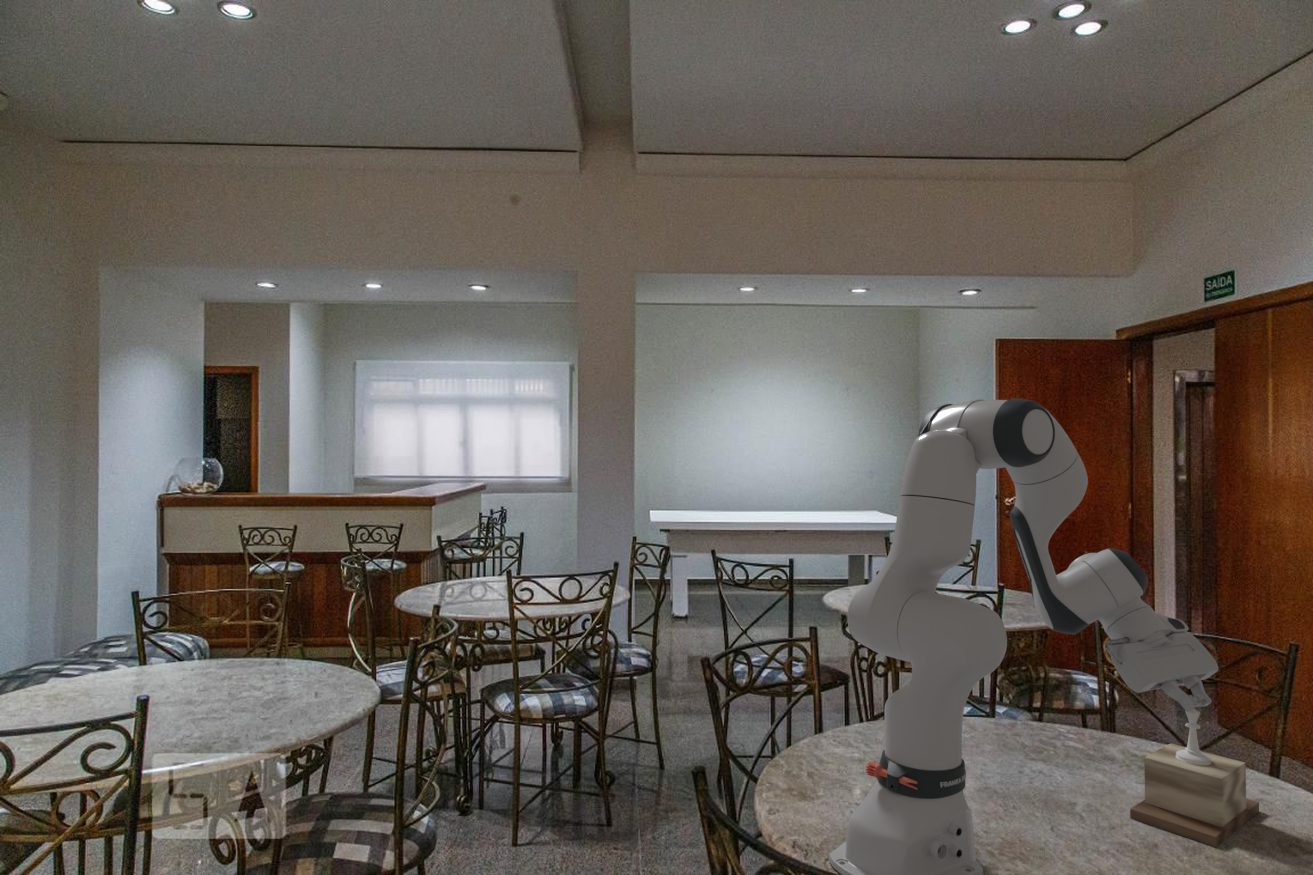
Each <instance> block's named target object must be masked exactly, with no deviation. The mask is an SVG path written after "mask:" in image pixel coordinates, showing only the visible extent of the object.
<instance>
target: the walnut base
mask: <svg viewBox="0 0 1313 875" xmlns="http://www.w3.org/2000/svg"><path fill="white" fill-rule="evenodd" d="M1186 747H1187V746H1183V745H1179V744H1176V743H1171V742H1170V743H1169V744H1167V745H1164V746H1163V747H1161V748H1159V749H1157V750H1156V751H1154V752H1152V753H1150V754H1148V755H1146V756H1145V757H1144V766H1143V768H1144V799H1143V800H1142V801H1140V802H1139V803H1137V804H1136V805H1134V806H1132V807H1130V808H1129V809H1130V810H1129V811H1130V812H1129V815H1130V816H1129V818H1130V819H1132V820H1134V821H1138V822H1141V823H1144V824H1147V825H1150V826H1153V827H1156V828H1158V829H1162V830H1165V831H1167V832H1171V833H1174V834H1176V835H1179V836H1182V837H1185V838H1188V839H1191V840H1194V841H1197V842H1199V843H1202V844H1206V845H1208V846H1211V847H1215V848H1217V847H1218V846H1219V845H1220V844H1221V843H1223V842H1224V841H1225V840H1226V839H1228V838H1229V837H1230V836H1231V835H1232V834H1234V832H1236V831H1237V830H1238V829H1240V828H1241V827H1242V826H1243V825H1244V824H1245V823H1247V822H1248V821H1249V820H1250V819H1252V818H1253V817H1254V816H1255V815H1257V814H1258V813H1259V812H1260V801H1256V800H1252V799H1249V798H1247V780H1246V779H1247V778H1246V777H1247V774H1246V773H1247V772H1246V770H1247V769H1246V762H1244V761H1241V760H1237V759H1234V758H1233V759H1232V758H1230V757H1224V756H1221V755H1219V754H1215V753H1211V752H1207V751H1202V750H1201V751H1202V752H1201V753H1204V754H1206V755H1207V756H1209V757H1210V758H1211V760H1210V761H1211V764H1210V765H1193V764H1189V763H1185V762H1183V761H1180V760H1178V759H1177V758H1176V752H1177V751H1179V750H1185V748H1186ZM1256 813H1257V814H1256Z"/></svg>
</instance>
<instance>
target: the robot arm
mask: <svg viewBox="0 0 1313 875" xmlns="http://www.w3.org/2000/svg"><path fill="white" fill-rule="evenodd" d="M1002 468H1003V469H1005V470H1006V471H1007V473H1008V475H1009V477H1010V479H1011V480H1012V482H1013V485H1014V490H1015V499H1014V506H1013V507H1012V509H1011V511H1010V513H1009V520H1010V525H1011V528H1012V533H1013V536H1014V539H1015V540H1014V541H1015V543H1016V546H1017V549H1018V552H1019V554H1020V558H1021V561H1022V564H1023V568H1024V570H1025V573H1026V575H1027V576H1026V577H1027V580H1028V583H1029V586H1030V591H1031V595H1032V599H1033V603H1034V604H1033V605H1034V608H1035V610H1036V612H1037V614H1038V616H1039V617H1040V619H1041V620H1042V621H1043V623H1044V624H1045V625H1046V626H1047V627H1048V628H1049V629H1050V630H1051V631H1053V632H1057V633H1061V634H1066V635H1074V636H1075V635H1077V634H1078V633H1080V632H1081V631H1083V630H1084V629H1086V628H1087V627H1089V626H1090V625H1091V624H1092V623H1095V622H1096V621H1098V622H1100V624H1101V625H1102V628H1103V630H1104V633H1106V635H1107V636H1108V637H1109V640H1107V642H1106V648H1105V650H1106V653H1108V655H1109V656H1110V660H1111V663H1112V664H1113V666H1114V668H1115V670H1116V671H1117V673H1118V675H1119V676H1120V677H1121V678H1122V681H1123V682H1124V683H1125V685H1126V686H1127V687H1128V688H1129V689H1130V690H1131V691H1133V692H1134V693H1137V694H1138V693H1144V692H1148V691H1154V690H1159V689H1161V690H1163V692H1164V693H1165V694H1166V695H1168V697H1171V698H1172V699H1173V700H1174V701H1176V702H1178V704H1180V706H1181V707H1182V708H1183V710H1190V709H1193V708H1197V707H1198V704H1199V707H1200V708H1202V707H1207V706H1208V705H1211V703H1212V699H1211V697H1210V696H1209V695H1208V694H1207V693H1206V691H1205V687H1204V684H1203V681H1204V680H1207V679H1209V678H1210V677H1211V676H1213V675H1214V674H1215V673H1217V672H1218V671H1219V665H1218V663H1217V661H1216V659H1215V658H1214V657H1213V655H1212V654H1211V653H1210V651H1209V650H1208V649H1207V648H1206V647H1205V646H1204V645H1203V644H1202V643H1201V641H1200V640H1198V638H1197V637H1195V635H1193V634H1192V633H1189V632H1187V631H1189V629H1190V628H1189V626H1188V625H1187V623H1185V622H1184V621H1183V620H1182V619H1180V618H1174V617H1170V616H1166V615H1164V614H1162V613H1157V612H1156V611H1155V610H1154V609H1153V608H1152V606H1150V605H1149V604H1148V603H1146V602H1145V601H1143V599H1142V598H1141V596H1143V595H1144V594H1145V591H1146V589H1147V584H1148V580H1149V577H1148V575H1147V573H1146V571H1144V569H1142V567H1141V566H1140V565H1139V564H1138V563H1137V562H1136V561H1135V559H1134V558H1133V557H1132V556H1131V555H1130V554H1129V553H1128V552H1127V551H1123V550H1120V549H1116V548H1111V547H1109V548H1107V549H1103V550H1100V551H1098V552H1089V553H1085V554H1083V555H1079V557H1077V558H1075V559H1074V560H1073V561H1071V562H1070V564H1069V566H1068V567H1067V568H1066V570H1063V571H1062V572H1060V573H1058V574H1056V571H1055V568H1054V567H1055V566H1054V564H1053V562H1052V557H1051V555H1050V551H1049V544H1050V543H1049V542H1050V540H1051V538H1052V536H1053V535H1054V533H1055V532H1056V530H1057V529H1058V528H1059V526H1060V525H1061V524H1063V522H1064V521H1065V520H1066V519H1067V518H1068V517H1069V516H1070V515H1071V514H1072V512H1074V511H1075V510H1076V509H1077V507H1078V506H1079V505H1080V503H1081V502H1082V501H1083V498H1084V496H1085V494H1086V492H1087V488H1088V484H1089V479H1088V473H1087V469H1086V467H1085V464H1084V462H1083V460H1082V457H1081V456H1080V454H1079V451H1078V450H1077V449H1076V447H1075V445H1074V443H1073V442H1072V440H1071V439H1070V437H1069V435H1068V434H1067V433H1066V431H1065V429H1064V428H1063V427H1062V425H1061V424H1060V422H1058V420H1057V419H1056V418H1055V417H1054V416H1053V415H1052V414H1051V413H1050V411H1049V410H1047V408H1045V407H1044V406H1042V404H1040V403H1038V402H1037V401H1035V400H1030V399H1026V398H1025V399H1024V398H1015V397H1014V398H1010V399H975V400H973V399H972V400H967V401H963V402H958V403H946V404H942V405H940V406H937V407H935V408H932V409H931V410H930V411H929V412H928V413H926V414H925V416H924V417H923V419H922V421H921V424H920V427H919V429H918V437H916V438H915V440H914V441H913V443H912V444H911V448H910V450H909V454H908V456H907V460H906V463H905V468H904V470H903V475H902V480H901V485H900V486H901V487H900V494H899V500H898V507H897V508H898V509H897V516H896V520H895V521H896V522H895V527H894V534H893V539H892V542H891V546H890V548H889V551H888V555H887V556H886V559H885V561H884V563H883V565H882V566H881V568H880V570H879V571H878V572H877V574H876V575H875V576H874V578H873V579H872V580H871V581H870V582H869V583H868V584H866V585H865V586H863V587H862V588H860V589H859V590H857V591H856V593H854V595H853V597H852V599H851V600H850V602H849V605H848V608H847V625H848V627H847V628H848V630H849V632H850V634H851V636H852V638H853V639H854V640H855V641H856V642H858V643H859V644H861V645H863V646H864V647H865V648H868V649H869V650H872V651H874V652H875V653H877V654H879V655H881V656H886V657H890V658H892V659H897V660H900V661H902V662H903V661H904V662H907V663H911V667H912V669H911V677H910V680H909V682H908V685H906V686H904V687H902V688H899V689H897V690H895V691H894V692H893V693H892V694H890V695H889V697H888V698H887V700H886V702H885V704H884V749H883V750H882V753H881V756H880V758H879V763H876V762H874V761H869V762H867V765H866V766H865V773H866V775H867V776H869V777H873V778H876V779H877V780H876V782H875V784H874V785H873V786H872V788H871V789H870V790H869V791H868V794H866V796H865V797H864V798H863V800H862V802H861V803H860V804H859V806H858V807H857V808H856V809H855V811H854V812H853V814H852V815H851V817H850V818H849V820H848V823H847V828H846V829H847V830H846V838H845V841H844V842H843V843H841V844H840V845H838V846H837V847H836V848H835V849H834V850H832V851H831V852H830V853H829V856H828V857H829V858H828V861H829V863H830V865H831V866H832V867H833V868H834V869H835V871H836V872H838V873H839V874H841V875H984V869H983V868H984V867H983V866H982V865H981V864H980V862H979V861H978V860H977V854H976V852H977V851H976V843H975V833H974V822H973V815H972V812H971V809H970V807H969V805H968V802H967V799H966V797H965V794H964V789H965V788H966V777H967V771H966V763H965V760H964V759H963V756H962V755H963V751H962V748H963V742H962V741H963V721H964V719H963V718H964V713H965V707H966V703H967V701H968V698H969V696H970V694H971V692H972V690H973V689H974V687H975V686H976V685H977V683H978V682H979V681H980V680H982V679H983V678H984V677H987V676H988V675H990V674H991V673H993V672H994V671H995V670H997V668H998V667H999V666H1000V664H1002V662H1003V660H1004V658H1005V656H1006V652H1007V647H1008V636H1007V630H1006V626H1005V624H1004V622H1003V621H1002V618H1001V617H1000V615H999V614H998V613H997V612H996V611H995V610H993V609H991V608H989V607H987V606H985V605H982V604H979V603H978V602H974V601H973V600H970V599H967V598H963V597H961V596H960V597H959V596H954V595H953V596H952V595H947V594H942V593H936V591H937V587H938V584H939V582H940V580H942V577H943V576H944V574H945V573H946V572H947V571H949V570H950V569H952V568H954V567H957V566H959V565H960V564H962V563H964V561H966V560H967V558H968V556H969V553H970V552H971V546H972V537H973V536H972V535H973V527H974V517H975V510H976V497H977V496H976V495H977V474H978V471H979V470H980V469H982V470H988V469H989V470H990V469H991V470H993V469H1002ZM1202 680H1203V681H1202ZM1180 685H1184V686H1185V687H1186V688H1187V689H1190V691H1191V693H1192V694H1187V693H1186V692H1185V691H1184V690H1182V689H1181V688H1180Z"/></svg>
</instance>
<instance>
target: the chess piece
mask: <svg viewBox="0 0 1313 875" xmlns="http://www.w3.org/2000/svg"><path fill="white" fill-rule="evenodd" d="M1197 707H1199V704H1198V706H1197ZM1195 708H1196V707H1195ZM1195 708H1193V709H1190V710H1185V709H1184V710H1185V714H1186V717H1187V720H1188V722H1186V723H1185V724H1184V726H1185V727H1187V728H1189V729H1188V730H1189V731H1188V739H1187V745H1186V746H1185V747H1186V748H1185V750H1179V751H1177V752H1176V758H1177V759H1178V760H1180V761H1183V762H1185V763H1189V764H1193V765H1210V764H1211V761H1210V760H1211V758H1210V757H1209V756H1207V755H1206V754H1204V753H1201V752H1202V750H1201V749H1200V747H1199V741H1198V733H1197V730H1199V729H1201V725H1200V724H1198V723H1197V722H1198V720H1199V717H1200V714H1201V712H1200V711H1199V710H1197V709H1195Z"/></svg>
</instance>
